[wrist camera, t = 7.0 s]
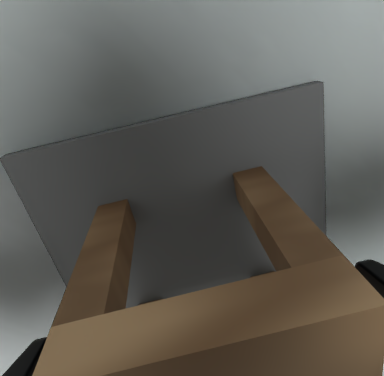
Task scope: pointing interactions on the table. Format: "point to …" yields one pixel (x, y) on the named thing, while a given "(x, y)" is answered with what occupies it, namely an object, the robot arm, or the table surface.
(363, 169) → the table surface
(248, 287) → the stool
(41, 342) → the robot arm
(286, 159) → the mat
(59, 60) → the table surface
